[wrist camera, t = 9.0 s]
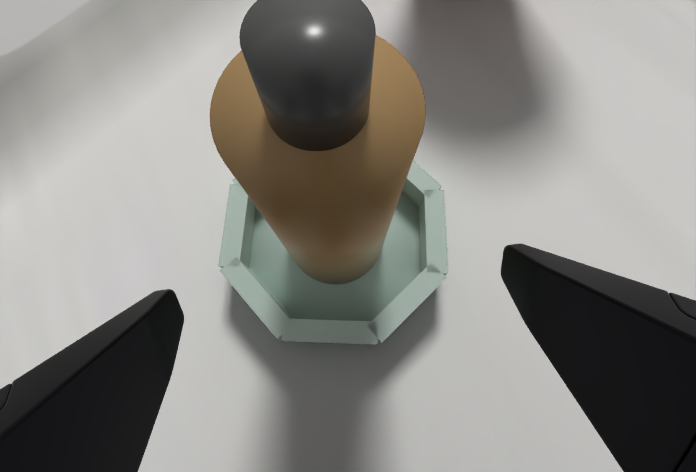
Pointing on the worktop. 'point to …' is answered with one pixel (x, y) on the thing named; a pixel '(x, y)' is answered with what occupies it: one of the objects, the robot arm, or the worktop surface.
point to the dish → (339, 299)
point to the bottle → (319, 130)
